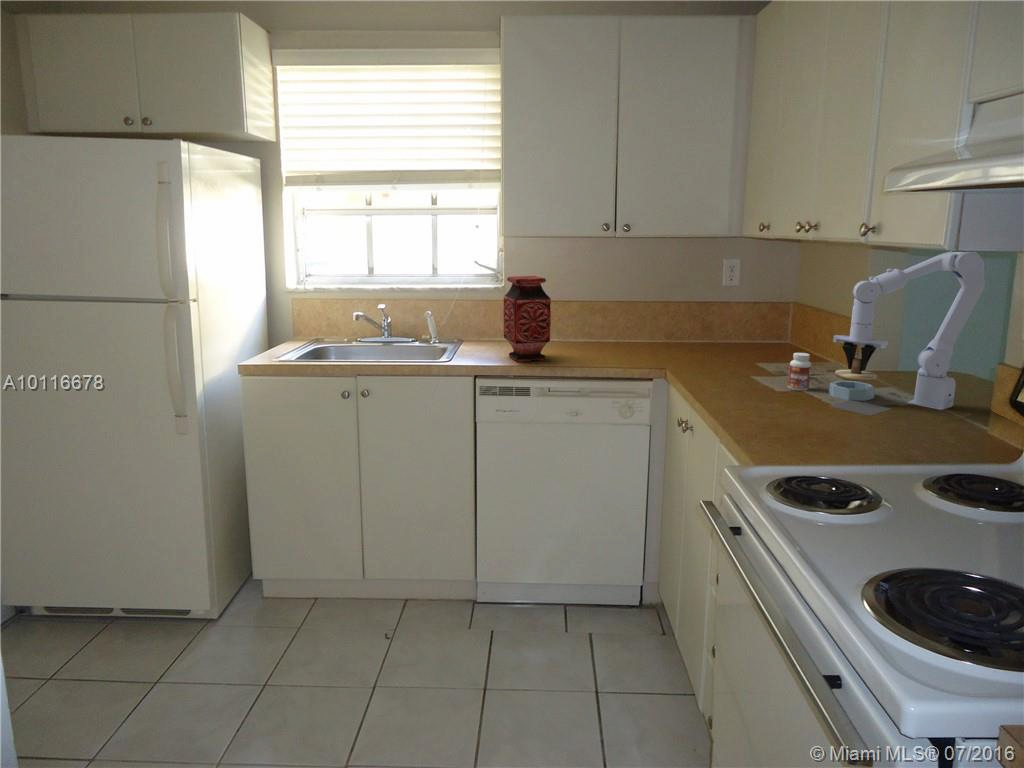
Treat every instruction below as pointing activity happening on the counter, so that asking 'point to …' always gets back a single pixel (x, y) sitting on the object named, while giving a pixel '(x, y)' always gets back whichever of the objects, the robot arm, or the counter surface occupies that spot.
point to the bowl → (852, 390)
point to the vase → (527, 318)
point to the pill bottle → (799, 372)
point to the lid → (856, 372)
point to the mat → (860, 407)
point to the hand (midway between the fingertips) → (856, 369)
